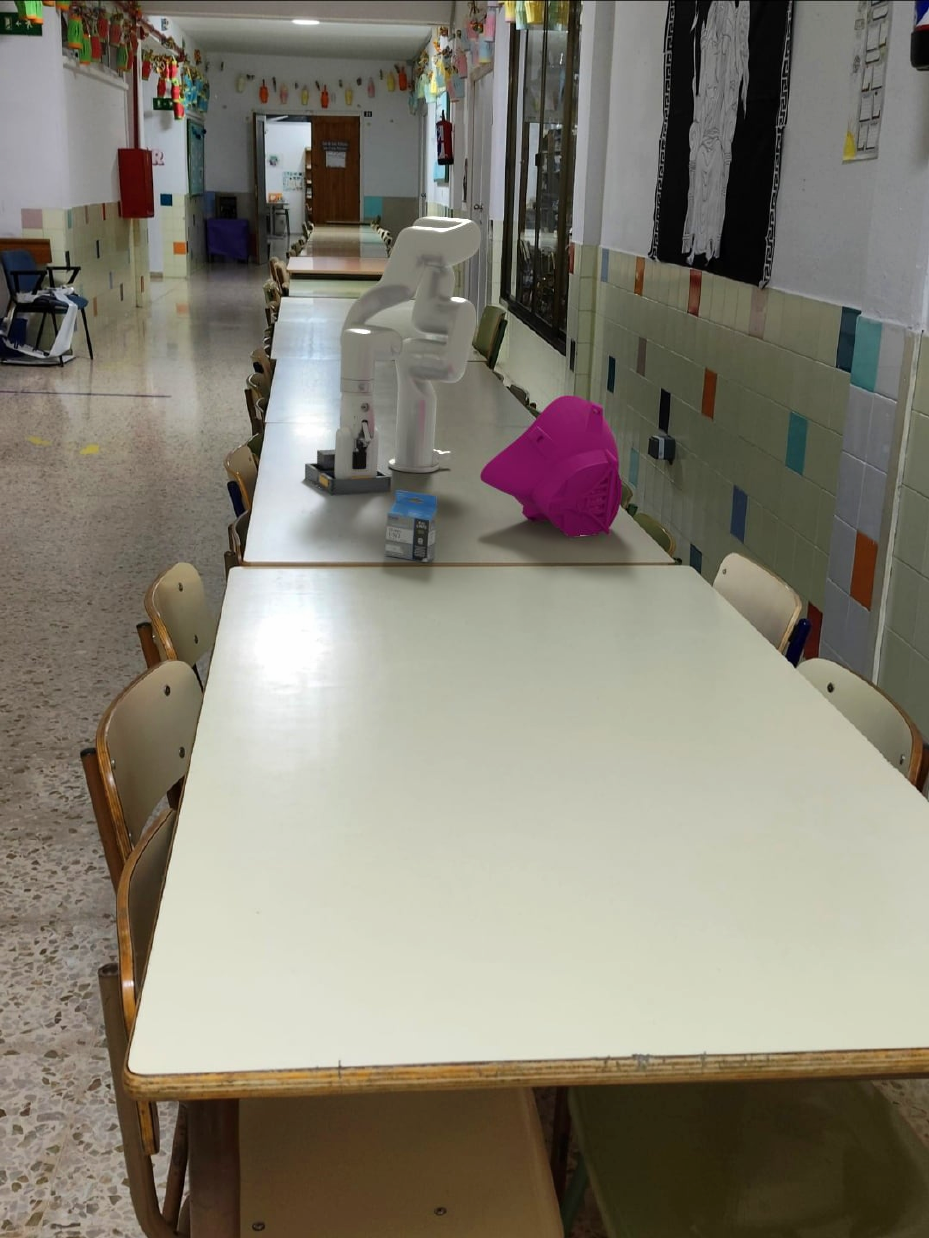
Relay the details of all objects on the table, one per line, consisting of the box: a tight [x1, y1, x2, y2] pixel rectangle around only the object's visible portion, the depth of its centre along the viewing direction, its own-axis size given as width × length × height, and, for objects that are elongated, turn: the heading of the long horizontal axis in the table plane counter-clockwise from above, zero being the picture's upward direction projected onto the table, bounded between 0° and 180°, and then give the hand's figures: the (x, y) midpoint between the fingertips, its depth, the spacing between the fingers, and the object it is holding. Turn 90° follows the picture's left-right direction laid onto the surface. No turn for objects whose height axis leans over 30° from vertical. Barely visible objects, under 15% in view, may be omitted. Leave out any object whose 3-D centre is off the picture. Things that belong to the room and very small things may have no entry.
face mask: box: [479, 394, 623, 538], centre depth 252 cm, size 28×23×30 cm
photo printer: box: [334, 426, 380, 479], centre depth 274 cm, size 10×4×12 cm, turn 123°
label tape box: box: [384, 489, 438, 563], centre depth 228 cm, size 9×4×12 cm, turn 69°
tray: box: [304, 449, 392, 496], centre depth 279 cm, size 15×16×7 cm
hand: (354, 465), depth 275 cm, fingers closed on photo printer, 4 cm apart
